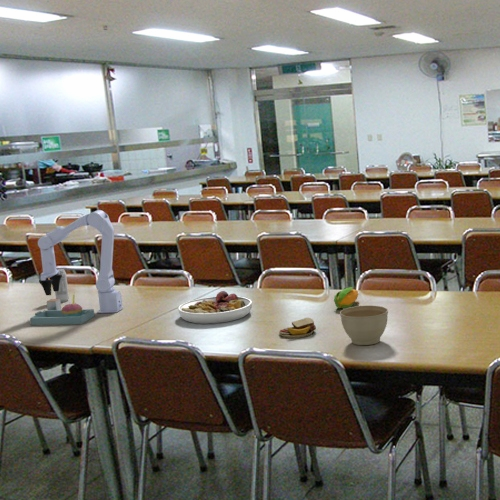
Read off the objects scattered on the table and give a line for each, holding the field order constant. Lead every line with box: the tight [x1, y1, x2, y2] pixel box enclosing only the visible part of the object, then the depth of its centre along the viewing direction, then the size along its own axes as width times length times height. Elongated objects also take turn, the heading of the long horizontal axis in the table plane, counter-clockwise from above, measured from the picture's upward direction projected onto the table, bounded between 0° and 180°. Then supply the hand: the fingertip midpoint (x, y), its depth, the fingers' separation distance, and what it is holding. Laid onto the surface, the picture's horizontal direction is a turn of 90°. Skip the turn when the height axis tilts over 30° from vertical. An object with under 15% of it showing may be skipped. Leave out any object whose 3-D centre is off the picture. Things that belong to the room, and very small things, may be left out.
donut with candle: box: [61, 293, 83, 317], centre depth 329 cm, size 9×8×12 cm
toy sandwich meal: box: [278, 317, 317, 339], centre depth 282 cm, size 12×14×5 cm
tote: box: [29, 308, 95, 326], centre depth 330 cm, size 23×13×4 cm, turn 78°
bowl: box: [177, 290, 253, 325], centre depth 318 cm, size 30×30×8 cm
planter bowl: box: [339, 305, 389, 346], centre depth 265 cm, size 16×16×11 cm
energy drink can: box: [54, 268, 70, 303], centre depth 369 cm, size 6×6×15 cm
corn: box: [333, 286, 359, 310], centre depth 317 cm, size 7×8×20 cm
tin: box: [46, 298, 62, 310], centre depth 344 cm, size 4×4×6 cm
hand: (52, 293), depth 343 cm, fingers open, 7 cm apart
